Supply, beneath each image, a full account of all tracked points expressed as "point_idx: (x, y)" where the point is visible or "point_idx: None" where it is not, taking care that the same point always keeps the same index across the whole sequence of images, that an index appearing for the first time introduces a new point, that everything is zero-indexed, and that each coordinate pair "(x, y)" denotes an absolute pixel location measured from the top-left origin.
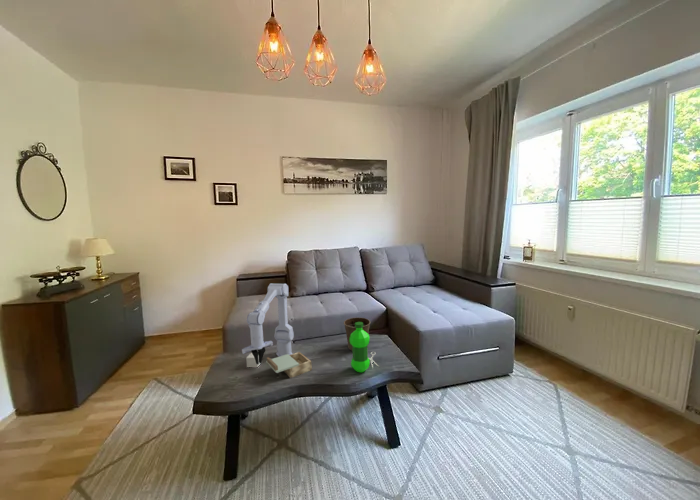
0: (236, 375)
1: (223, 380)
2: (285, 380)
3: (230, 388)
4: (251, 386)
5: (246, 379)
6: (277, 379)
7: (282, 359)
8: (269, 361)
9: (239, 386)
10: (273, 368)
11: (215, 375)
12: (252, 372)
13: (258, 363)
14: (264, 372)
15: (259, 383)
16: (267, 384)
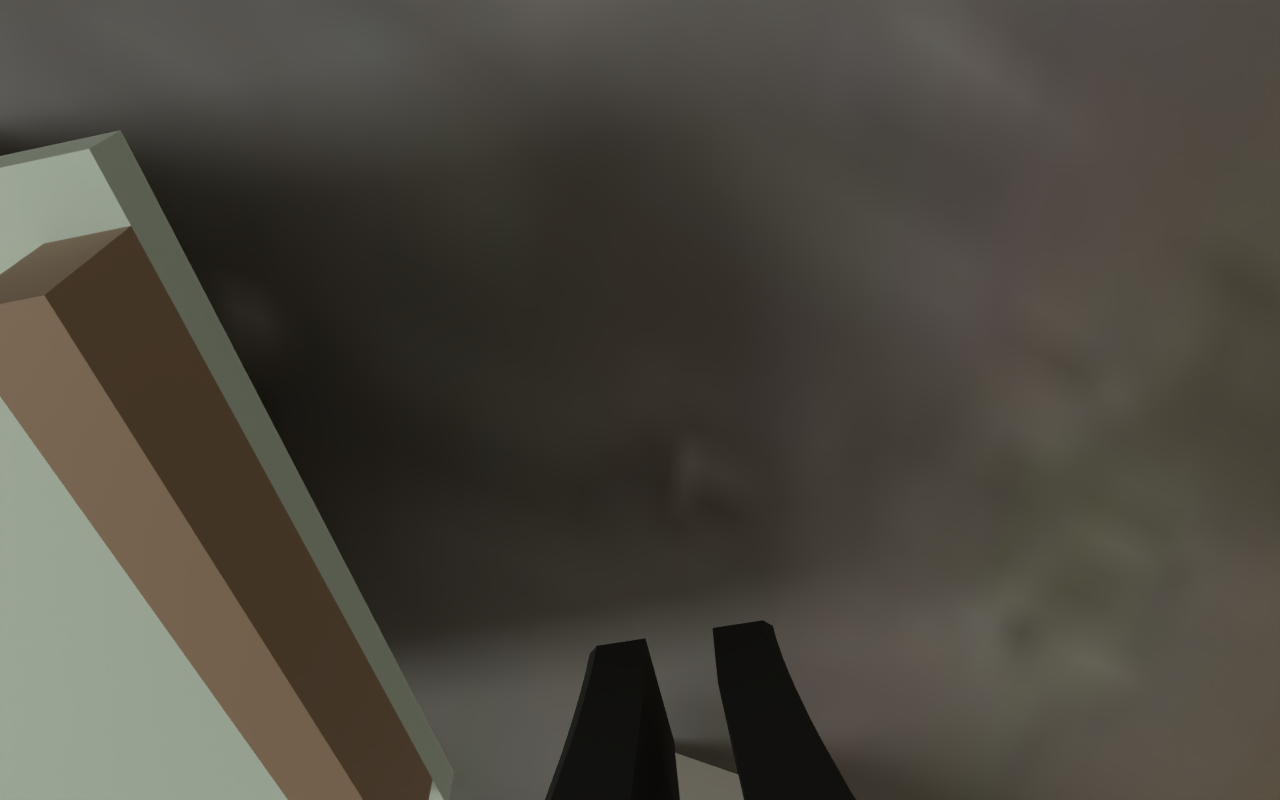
0: (1006, 678)
1: (1240, 627)
2: (32, 78)
3: (1271, 336)
4: (878, 207)
5: (895, 506)
6: (258, 225)
7: (12, 733)
8: (339, 725)
9: (1096, 327)
10: (230, 408)
11: (1267, 780)
12: None
13: (725, 646)
14: (535, 588)
15: (687, 249)
16: (511, 111)
